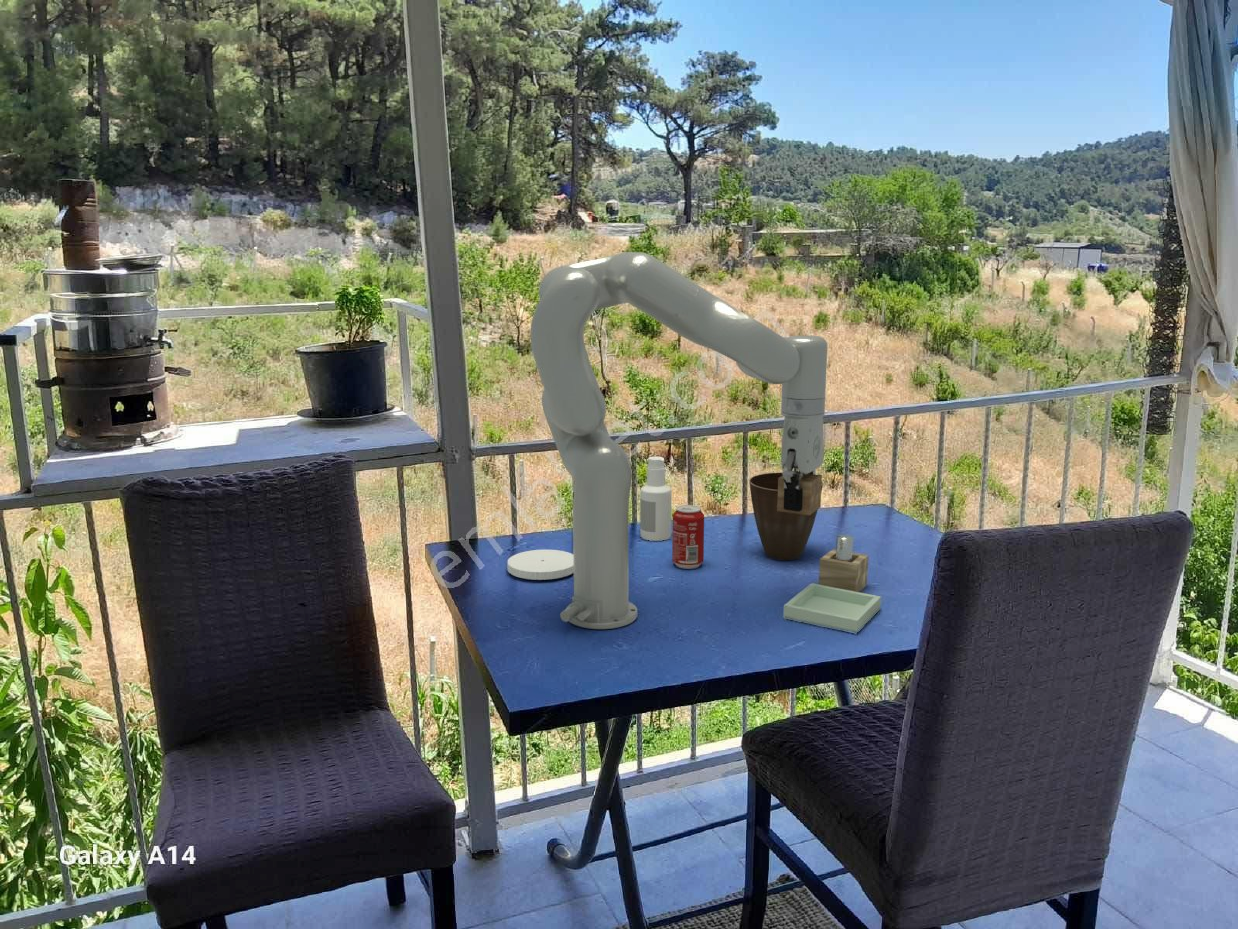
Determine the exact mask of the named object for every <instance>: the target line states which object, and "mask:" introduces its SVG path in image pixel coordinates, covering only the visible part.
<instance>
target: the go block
mask: <svg viewBox="0 0 1238 929" xmlns="http://www.w3.org/2000/svg"><path fill="white" fill-rule="evenodd" d="M868 569H869V555H868V554H864V553H858V552H852V562H847V561H841V560H836V548H835V549H834V548H832V549H831V550H830V551H828V552H827V553H826V554H824V555H823V556H822V557H821V558H819V572H818V585H823V586H829V587H834V588H839V589H844V590H849V591H855V592H860V593H861V591H862V590H863V589H864V588H865V587H867V584H868V573H869V570H868Z"/></svg>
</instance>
